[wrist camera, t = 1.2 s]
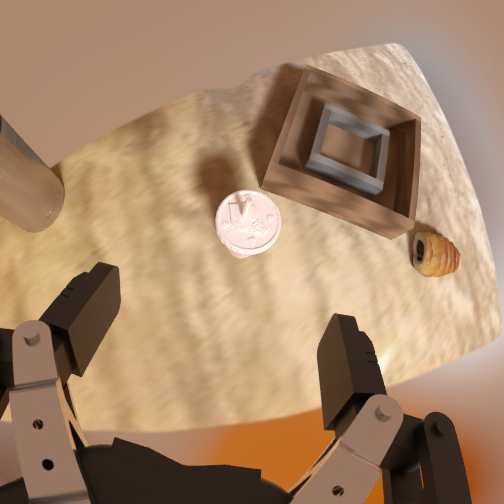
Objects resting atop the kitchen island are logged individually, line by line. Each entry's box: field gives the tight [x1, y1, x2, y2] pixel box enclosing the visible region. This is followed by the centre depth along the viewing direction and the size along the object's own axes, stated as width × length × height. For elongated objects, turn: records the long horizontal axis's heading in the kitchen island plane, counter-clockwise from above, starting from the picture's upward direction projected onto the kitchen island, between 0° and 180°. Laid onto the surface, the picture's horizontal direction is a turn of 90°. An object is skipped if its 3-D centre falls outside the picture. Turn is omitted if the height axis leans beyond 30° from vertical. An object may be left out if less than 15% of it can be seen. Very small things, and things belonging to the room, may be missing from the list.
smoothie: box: [215, 190, 281, 258], centre depth 32 cm, size 6×6×14 cm
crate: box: [260, 65, 421, 239], centre depth 41 cm, size 20×20×6 cm
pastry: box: [412, 231, 460, 277], centre depth 40 cm, size 9×7×4 cm
